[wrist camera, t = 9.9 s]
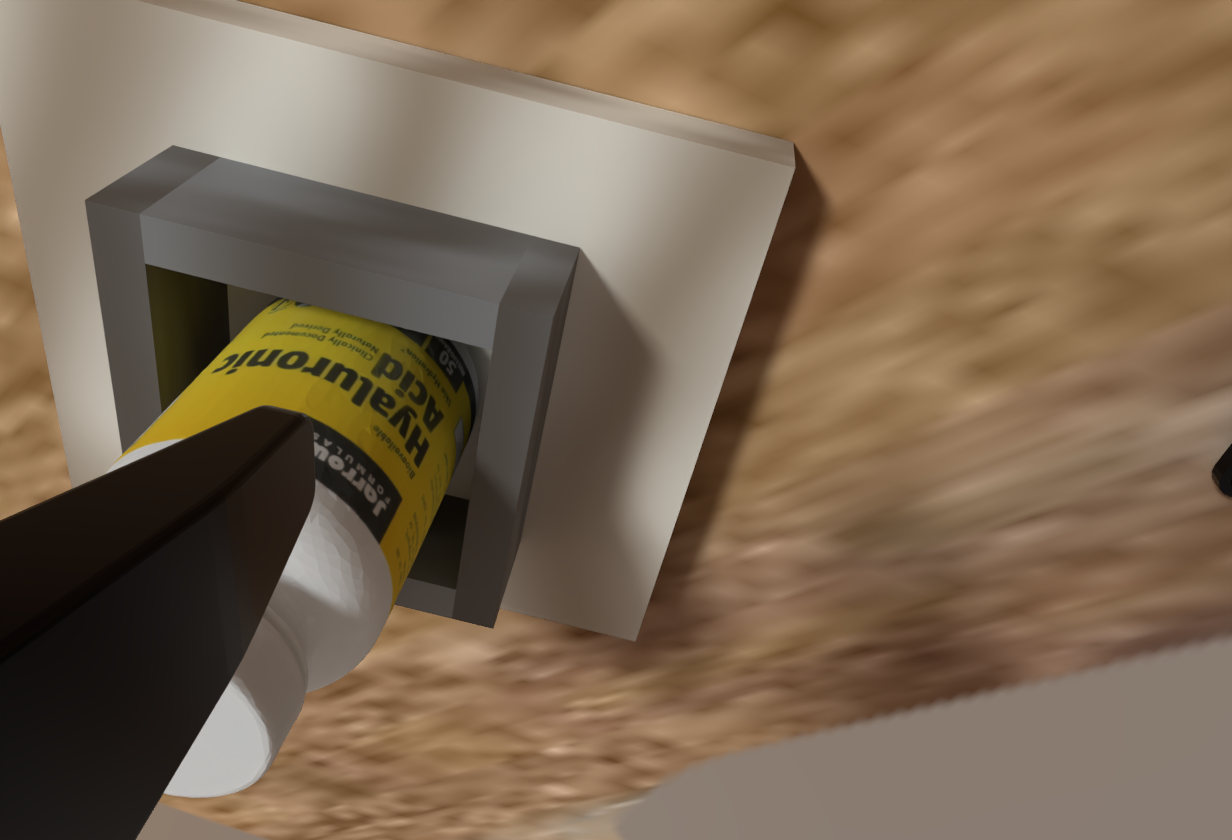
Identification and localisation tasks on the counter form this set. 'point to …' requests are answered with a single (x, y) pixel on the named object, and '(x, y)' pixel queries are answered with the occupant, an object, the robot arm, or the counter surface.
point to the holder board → (395, 263)
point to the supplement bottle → (325, 505)
